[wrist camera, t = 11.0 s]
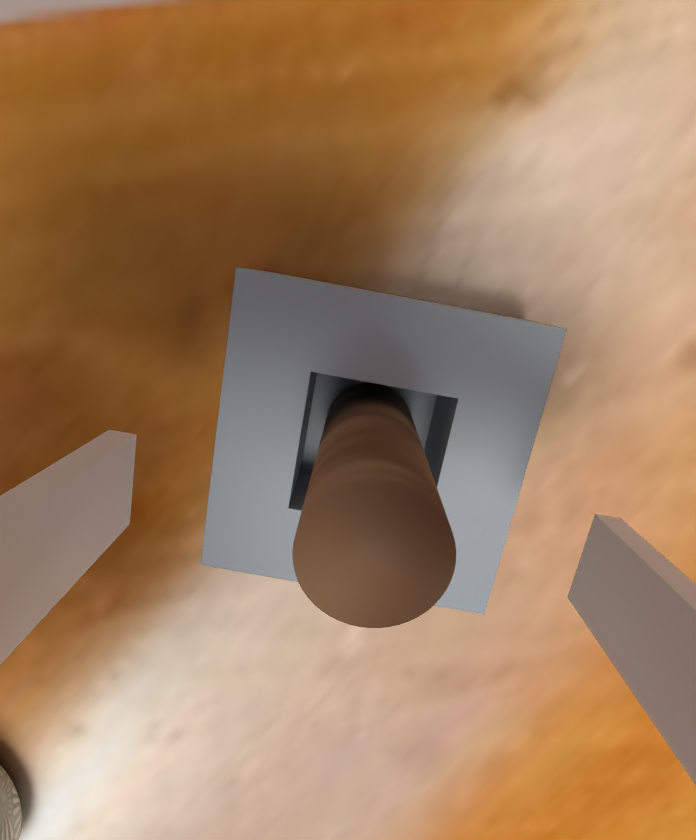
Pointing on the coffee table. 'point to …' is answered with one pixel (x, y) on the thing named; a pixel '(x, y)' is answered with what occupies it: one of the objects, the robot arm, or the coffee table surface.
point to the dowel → (372, 516)
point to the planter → (9, 808)
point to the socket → (382, 364)
